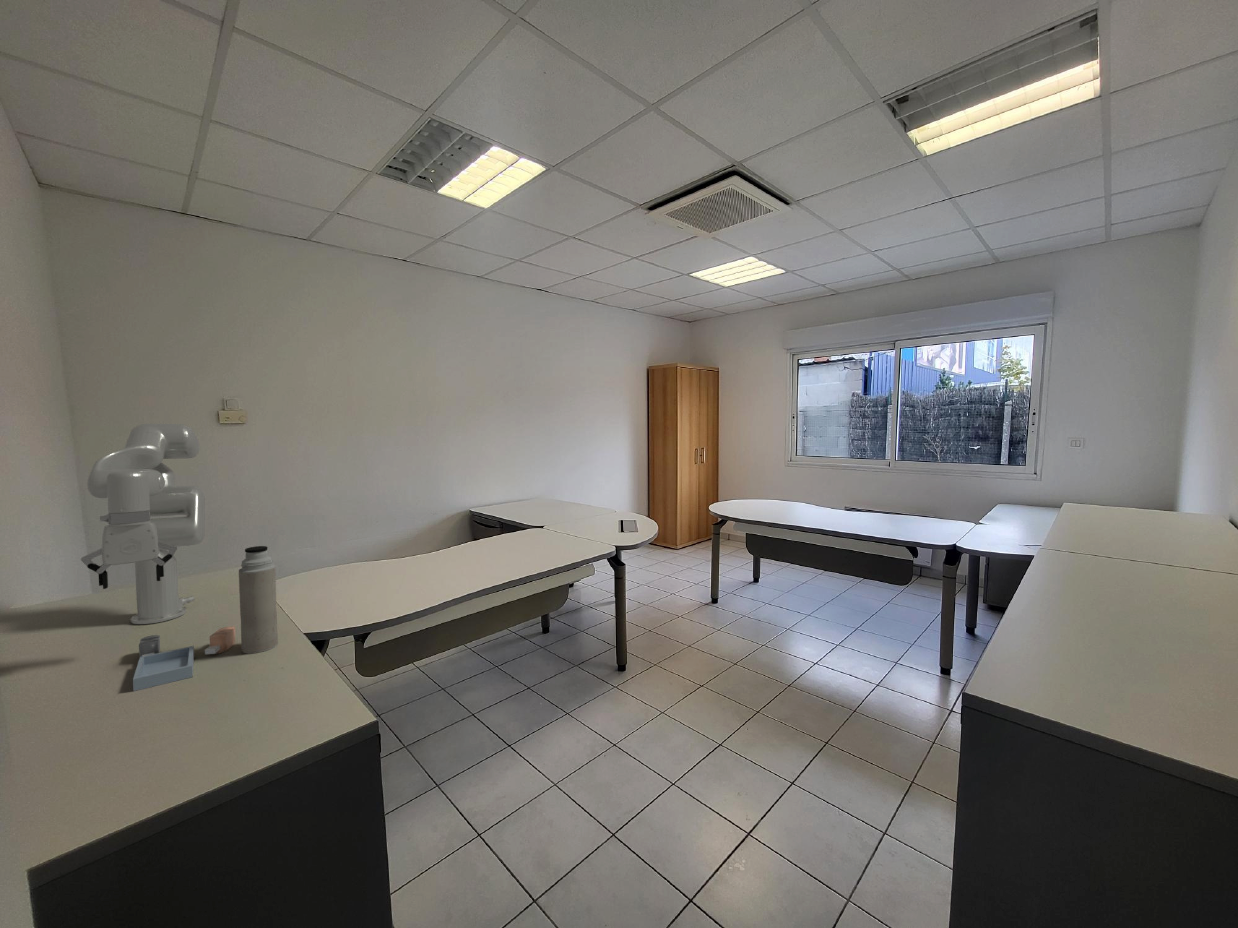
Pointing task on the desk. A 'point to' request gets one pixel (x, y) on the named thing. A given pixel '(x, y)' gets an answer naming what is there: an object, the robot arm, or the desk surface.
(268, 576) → the thermos bottle
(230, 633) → the terracotta plug
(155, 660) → the tray
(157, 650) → the graphite plug
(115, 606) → the desk surface
